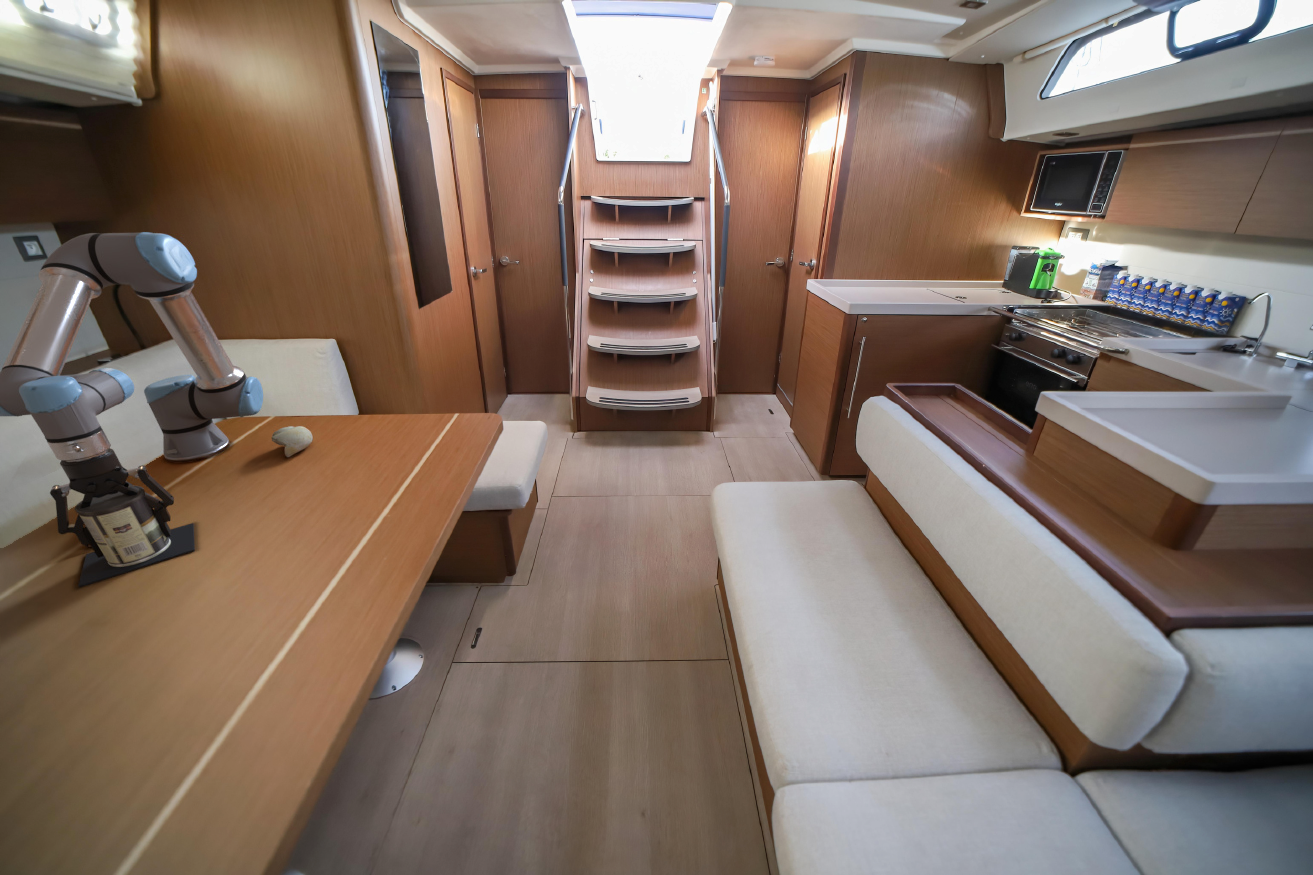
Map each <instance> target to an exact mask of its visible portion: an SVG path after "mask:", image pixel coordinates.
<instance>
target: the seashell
mask: <svg viewBox="0 0 1313 875" xmlns="http://www.w3.org/2000/svg"><path fill="white" fill-rule="evenodd" d="M313 438H314V437H313V434H312V431H311V430H309V429H308V428H306V427H305V426H302V425H300V426H292V425H289V426H285V427H281V428H279V429H278V430H275V431H273V433H272V434H271V441H272V442H273V443H274V444H276V445H278V446H283V447H284V455H285V456H286V458H290V457H292V456H293V455H295V454H297V453H299V452H301V451H303V450H304V449H306V448H307V447H309V446H311V444H312V443H313Z"/></svg>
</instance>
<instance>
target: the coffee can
mask: <svg viewBox="0 0 1313 875" xmlns="http://www.w3.org/2000/svg"><path fill="white" fill-rule="evenodd" d="M133 486H134V487H136V488H138V489H139V493H138V494H137V495H133V496H129V495H125V494H123V493H121V492H118V493H116V494H110V495H105V496H103V497H100V498H96V497H93V498H92V501H91V504H90V507H86V508H83V509H82V508H80V507H81V504H82V501H83V499H82V500H81V501H79V502H78V503H77V504H75V507H74V511H75V512H76V513H77V515H78V514H79V515H80V517H81V519H82V520H83V522H84V525H85V526H86V527H87V528H88V530H89V532H90V533H91V535H92V536H93V538H94V540H95V541H96V543H97V545H98V546H99V548H100V549H101V551H102V553H103V554H104V556H105V558H106V559H107V561H108V564H109V565H111V566H114V567H124V566H130V565H134V564H138V563H141V562H144V561H147V560H149V559H151V558H153V557H155V556H157V555H159V554H160V553H162V552H163V551H165V550H166V549H167V548H168V547H169V546H170V544H171V541H170V539H169V538H168V537H167V538H166V536H165V534H164V532H163V530H162V528H161V527H160V525H159V523H158V521H157V519H156V517H155V515H154V508H152V507H150V506H148V504H147V502H146V500H145V498H144V496H145V492H146V491H145V488H144V487H142V486H140V485H133Z"/></svg>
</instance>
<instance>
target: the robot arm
mask: <svg viewBox="0 0 1313 875" xmlns="http://www.w3.org/2000/svg"><path fill="white" fill-rule="evenodd" d="M197 277H198V269H197V268H196V262H195V260H194V257H193V256H192V254H191V253H190V251H189V249H188V248H187V247H186V246H185V245H184V244H183V243H182V242H181V241H179V240H178V239H177V238H175V237H173V236H171V235H169V234H167V233H160V232H159V233H157V232H156V233H155V232H154V233H153V232H149V231H146V232H145V231H142V232H112V233H111V232H107V233H103V232H102V233H101V232H90V233H85V234H80V235H77V236H75V237H73V238H71V239H69V240H67V241H66V242H64V243H63V244H61V245H60V246H59V247H57V248H56V249H55V250H54V251H53V252H51V254H50V255H49V256H48V257H47V258H46V260H45V262H44V263H43V264H42V266H41V268H40V270H39V272H38V279H39V280H40V282H41V285H40V287H39V289H38V292H37V294H36V296H35V297H34V300H33V302H32V304H31V306H30V308H29V310H28V312H27V315H26V316H25V319H24V321H23V322H22V326H21V327H20V330H19V332H18V334H17V336H16V338H15V340H14V342H13V344H12V346H11V349H10V351H9V353H8V355H7V357H6V359H5V362H4V363H3V365H2V368H1V369H0V417H22V416H31V417H32V419H33V420H34V422H35V423H36V425H37V426H38V428H39V430H40V431H41V433H42V435H43V436H44V439H45V440H46V442H47V445H48V446H49V448H50V449H51V452H52V453H53V454H54V456H55V458H56V459H57V460H58V461H60V462H59V465H60V467H61V468H62V470H63V471H64V474H65V475H66V476H67V478H68V480H69V483H66V484H63V485H59V484H55V485H53V486H52V487H51V489H50V492H49V494H50V496H51V497H52V499H54V501H55V513H56V522H57V533H58V534H60V535H66V534H74V535H75V536H76V537H77V539H78V541H79V543H80V544H81V545H82V546H85V545H87V544H90V545H91V547H90V548H91V549H92V551H93V552H95V553H96V555H97V557H98V558H99V557H103V555H104V554H103V553H102V551H101V549H100V548H99V546H98V545H97V543H96V541H95V540H94V538H93V536H92V535H91V533H90V532H89V530H88V528H87V527H86V525H85V523H84V522H83V520H82V519H81V517H80V515H79V514H78V513H77V517H76V520H75V523H71V524H70V518H69V505H68V496H69V494H70V491H71V490H72V491H74V492H77V493H80V494H82V495H83V498H82V500H83V501H82V500H81V501H82V504H81V507H80V508H82V509H83V508H86V507H90V504H91V501H92V498H93V497H96V498H100V497H103V496H105V495H110V494H116V493H118V492H121V493H123V494H125V495H129V496H133V495H137V494H138V493H139V489H138V488H136V487H134V486H135V485H133V484H132V483H131V482H129V481H127V480H128V478H129V477H133V478H134V479H137V480H138V479H139V480H140V482H141V483H142V484H144V485H145V486H146V487H147V488H148V489H149V490H150V491H151V492H152V493H153V494H155V496H156V497H155V496H153V495H152V494H150V493H148V492H146V491H145V496H144V498H145V500H146V502H147V504H148V506H150V507H152V508H153V509H154V515H155V517H156V519H157V521H158V523H159V525H160V527H161V528H162V530H163V532H164V534H165V536H166V538H167V537H170V536H171V528H170V526H169V524H168V522H171V514H170V512H169V510H168V508H167V507H169V506H172V505H174V503H175V497H174V496H173V495H172V494H171V493H170V492H169V491H168V490H167V489H165V487H163V486H162V484H160V483H159V482H158V481H157V480H156V479H155V478H154V477H152V475H151V474H150V473H149V471H148V469H147V467H146V466H145V465H143V464H142V465H139V466H137V468H131V469H128V468H127V469H126V468H125V467H124V466H123V465H122V463H121V462H120V460H119V458H118V456H117V454H116V452H115V450H114V449H113V448H111V447H112V446H111V445H112V444H111V443H110V441H109V439H108V437H107V435H106V433H105V430H104V429H103V428H102V426H101V424H100V422H99V420H98V418H97V416H99V415H100V414H102V413H104V412H106V411H108V410H110V409H112V408H114V407H116V406H118V405H120V404H123V403H124V402H125V401H126V400H128V399H129V398H130V397H131V396H132V395H133V394H134V393H135V385H134V382H133V381H132V380H133V379H131V377H130V376H129V375H128V374H126V372H125V373H124V372H123V371H121V370H119V369H116V368H113V367H112V368H111V367H101V368H98V369H93V370H90V371H89V372H86V373H77V374H64V375H62V371H63V369H64V366H65V365H66V362H67V359H68V357H69V354H70V352H71V351H72V350H71V349H72V348H73V345H74V342H75V340H76V337H77V335H78V333H79V330H80V328H81V325H82V323H83V321H84V319H85V316H86V313H87V311H88V309H89V306H90V303H91V301H92V300H93V299H96V298H98V297H100V295H101V294H102V291H103V289H105V288H106V287H109V286H113V285H114V286H115V285H129V286H130V287H131V289H132V290H133V292H134V293H135V294H136V295H137V296H138V297H139V298H141V299H144V300H147V301H149V303H150V304H151V306H152V307H153V309H154V310H155V313H156V314H157V315H158V317H159V318H160V320H161V321H162V324H164V326H165V328H166V329H167V331H168V332H169V334H170V335H171V337H172V339H173V340H174V342H175V344H176V345H177V346H178V348H179V350H180V351H181V353H182V355H183V356H184V357H185V359H186V361H187V362H188V363H189V365H190V367H191V369H192V370H193V372H194V373H195V375H196V377H195V376H194V375H193V374H181V375H175V376H171V377H167V378H163V379H161V380H157V381H155V382H152V383H150V384H148V385H147V386H146V387H145V388H144V389H143V393H144V396H145V399H146V403H147V404H148V406H149V408H150V410H151V412H152V415H153V416H154V418H155V420H156V422H157V424H158V426H159V428H160V430H161V433H162V439H163V441H162V443H163V444H162V445H163V446H162V448H163V449H162V450H163V456H164V458H165V461H167V462H169V463H173V464H174V463H176V464H182V463H183V464H185V463H191V462H196V461H201V460H204V459H208V458H211V457H213V456H217V455H219V454H221V453H223V452H225V451H226V450H227V449H228V448H229V447H230V446H231V442H230V439H229V438H228V436H227V435H226V434H225V433H224V432H223V431H222V430H221V428H219V427H218V426H217V425H216V424H215V423H214V420H217V419H228V418H244V417H250V416H255V415H257V414H258V413H259V412H261V409H262V407H263V404H264V391H263V386H262V383H261V381H260V380H259V379H258V378H257V377H255V376H247V375H246V373H245V371H244V369H243V368H241V367H239V366H237V365H234V364H233V362H232V361H231V359H230V357H229V355H228V353H227V352H226V350H225V349H224V347H223V345H222V343H221V341H220V340H219V337H217V335H216V333H215V331H214V329H213V328H212V326H211V324H210V322H209V320H208V318H207V317H206V315H205V313H204V312H203V309H202V308H201V306H200V305H199V303H198V301H197V299H196V298H195V296H194V294H193V292H192V290H193V288H194V287H195V282H194V281H195V280H196V279H197ZM84 525H85V526H84Z"/></svg>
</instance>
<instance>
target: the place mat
mask: <svg viewBox="0 0 1313 875" xmlns="http://www.w3.org/2000/svg"><path fill="white" fill-rule="evenodd" d="M194 524H195V523H194V522H192V523H189V524H184V525H182V526H178V527H174V528H170V530H171V536H170V537H168V538H169V539H170V541H171V544H170V546H169V547H168V548H167V549H166V550H165V551H163V552H162V553H160V554H159V555H157V556H155V557H153V558H151V559H149V560H147V561H144V562H141V563H138V564H134V565H130V566H124V567H114V566H111V565H109V564H108V561H107V559H106V558H105V556H104V555H103V557H99V558H98V557H97V555H96V553H95V552H94V551H92V552H88V553H86V555H85V558H84V562H83V565H82V569H81V573H80V578H79V580H78V585H77V587H78V588H83V587H85V586H89V585H92V584H95V583H97V582H101V581H105V580H107V579H110V578H114V577H116V576H120V575H123V574H126V573H130V572H132V571H135V570H139V569H142V568H144V567H148V566H152V565H154V564H158V563H160V562H164V561H167V560H170V559H174V558H177V557H179V556H183V555H186V554H189V553H192V552H195V551H196V547H195V546H196V544H195V525H194Z"/></svg>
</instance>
